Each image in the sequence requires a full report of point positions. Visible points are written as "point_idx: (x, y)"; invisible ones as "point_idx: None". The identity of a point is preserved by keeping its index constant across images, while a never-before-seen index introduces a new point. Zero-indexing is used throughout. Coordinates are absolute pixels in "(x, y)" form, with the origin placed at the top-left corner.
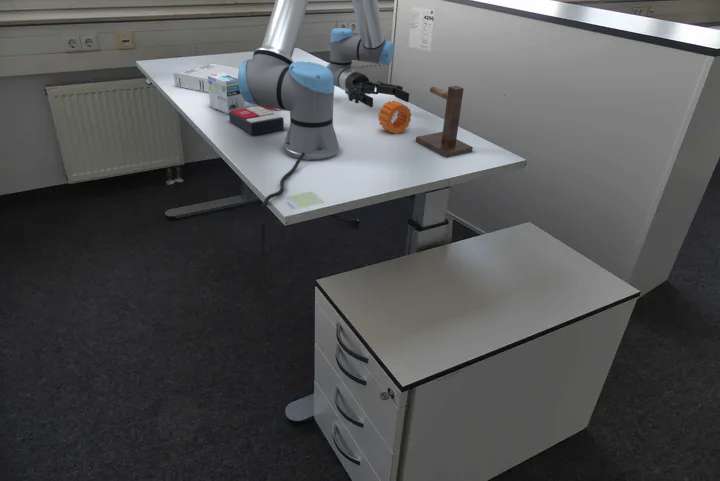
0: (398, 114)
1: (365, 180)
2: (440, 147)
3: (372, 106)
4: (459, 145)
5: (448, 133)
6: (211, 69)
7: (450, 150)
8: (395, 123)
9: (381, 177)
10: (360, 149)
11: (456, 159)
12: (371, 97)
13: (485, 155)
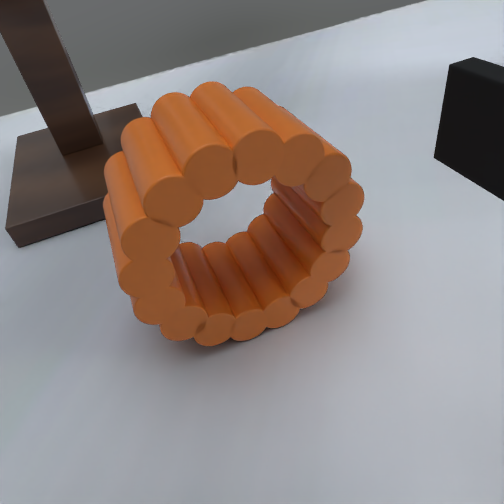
0: (172, 282)
1: (397, 33)
2: (130, 120)
3: (437, 153)
4: (51, 138)
5: (79, 82)
6: None
7: (112, 112)
8: (220, 292)
9: (357, 43)
10: (437, 121)
11: None
12: (478, 72)
13: (8, 141)
